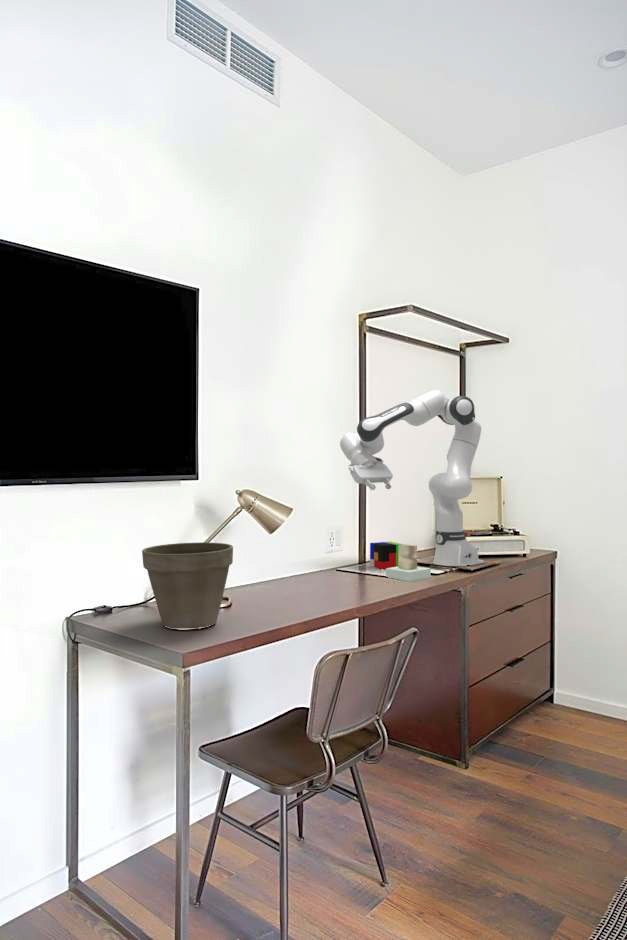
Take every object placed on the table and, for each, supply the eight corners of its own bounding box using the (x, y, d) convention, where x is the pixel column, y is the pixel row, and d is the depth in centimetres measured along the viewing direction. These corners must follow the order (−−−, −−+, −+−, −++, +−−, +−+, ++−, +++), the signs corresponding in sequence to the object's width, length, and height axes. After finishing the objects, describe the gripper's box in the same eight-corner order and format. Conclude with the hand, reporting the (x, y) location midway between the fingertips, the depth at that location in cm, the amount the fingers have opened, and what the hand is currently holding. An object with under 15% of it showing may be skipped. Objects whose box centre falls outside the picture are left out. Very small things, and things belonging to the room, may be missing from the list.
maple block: (408, 567, 266) (408, 543, 265) (417, 568, 261) (417, 545, 261) (398, 568, 263) (398, 544, 263) (407, 569, 259) (407, 546, 258)
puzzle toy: (370, 566, 289) (370, 542, 289) (390, 564, 293) (390, 541, 293) (382, 570, 280) (382, 545, 280) (403, 568, 284) (403, 544, 284)
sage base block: (406, 575, 271) (406, 565, 271) (430, 579, 262) (430, 568, 262) (386, 578, 263) (386, 568, 263) (410, 582, 254) (410, 572, 254)
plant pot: (123, 627, 187) (122, 548, 187) (188, 610, 208) (187, 539, 207) (189, 641, 173) (188, 555, 173) (251, 621, 194) (251, 545, 193)
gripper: (350, 459, 278) (367, 484, 270) (384, 458, 291) (402, 482, 284) (342, 470, 281) (359, 494, 274) (377, 469, 295) (394, 492, 287)
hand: (381, 488), depth 279 cm, fingers open, 8 cm apart
